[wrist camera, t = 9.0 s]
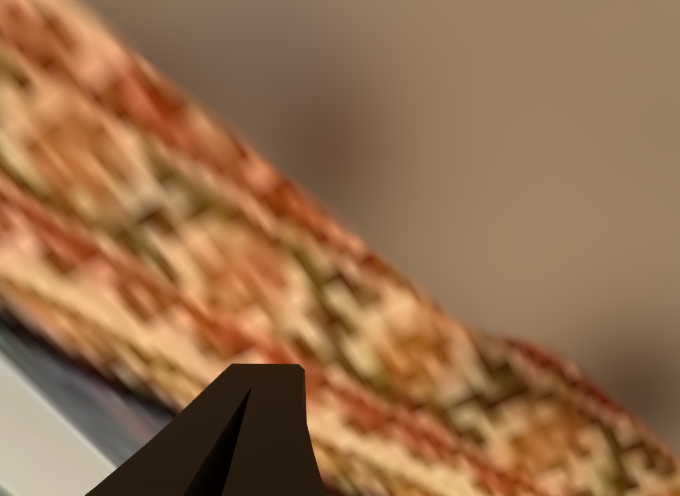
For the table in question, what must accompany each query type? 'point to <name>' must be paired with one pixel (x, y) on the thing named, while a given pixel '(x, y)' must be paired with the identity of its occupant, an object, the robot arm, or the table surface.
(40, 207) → the table surface
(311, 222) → the table surface
